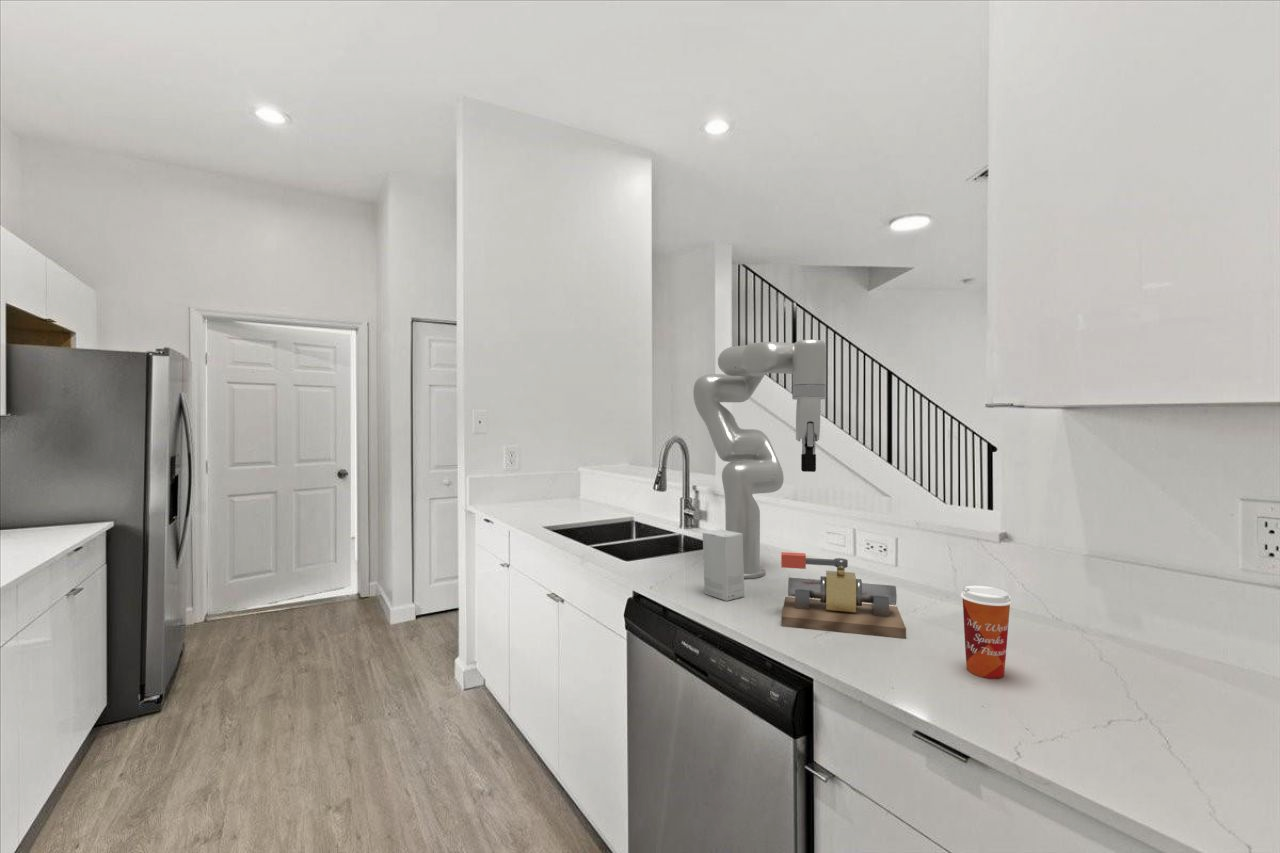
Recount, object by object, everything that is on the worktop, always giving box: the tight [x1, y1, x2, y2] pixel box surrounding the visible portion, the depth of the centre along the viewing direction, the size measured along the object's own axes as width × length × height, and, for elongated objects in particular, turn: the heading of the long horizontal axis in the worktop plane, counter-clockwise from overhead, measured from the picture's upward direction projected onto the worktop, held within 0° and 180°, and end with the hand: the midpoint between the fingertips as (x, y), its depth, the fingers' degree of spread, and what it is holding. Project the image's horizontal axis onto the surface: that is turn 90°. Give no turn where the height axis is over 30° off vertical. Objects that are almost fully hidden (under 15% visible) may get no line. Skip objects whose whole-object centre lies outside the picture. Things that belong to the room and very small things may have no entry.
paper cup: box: [960, 585, 1014, 680], centre depth 102 cm, size 8×8×14 cm
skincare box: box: [702, 528, 745, 602], centre depth 145 cm, size 8×7×16 cm
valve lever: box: [780, 551, 849, 570], centre depth 130 cm, size 14×3×3 cm, turn 76°
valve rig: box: [781, 567, 907, 639], centre depth 127 cm, size 24×14×11 cm, turn 73°
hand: (808, 471), depth 139 cm, fingers closed
